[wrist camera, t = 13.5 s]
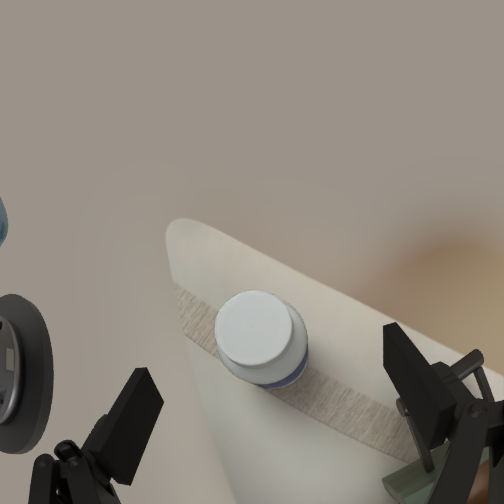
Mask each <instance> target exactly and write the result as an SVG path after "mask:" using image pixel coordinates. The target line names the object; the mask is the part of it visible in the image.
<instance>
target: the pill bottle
mask: <svg viewBox="0 0 504 504" xmlns="http://www.w3.org/2000/svg"><path fill="white" fill-rule="evenodd" d="M214 332H215V339H216V342H217V348H218V352H219V356H220V358H221V360H222V362H223V364H224V365H225V367H226V368H227V369H228V370H229V371H230V372H231V373H232V374H233V375H235V376H237V377H238V378H240V379H242V380H244V381H247V382H250V383H252V384H255V385H258V386H261V387H264V388H268V389H279V388H284V387H286V386H289V385H291V384H292V383H294V382H295V381H296V380H297V379H298V378H299V377H300V376H301V375H302V373H303V372H304V370H305V368H306V365H307V361H308V342H307V341H308V337H307V330H306V327H305V324H304V321H303V319H302V318H301V316H300V314H299V313H298V312H297V311H296V309H295V308H293V307H292V306H291V305H290V304H288V303H287V302H285V301H283V300H280V299H279V298H278V297H276V296H275V295H273V294H271V293H269V292H265V291H260V290H251V291H245V292H242V293H239V294H237V295H235V296H233V297H232V298H231V299H229V300H228V301H227V302H226V303H225V304H224V305H223V306H222V308H221V309H220V311H219V313H218V315H217V317H216V321H215V328H214Z"/></svg>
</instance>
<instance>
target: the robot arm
mask: <svg viewBox="0 0 504 504" xmlns="http://www.w3.org/2000/svg"><path fill="white" fill-rule="evenodd" d="M7 232H8V218H7V214H6V210H5V207H4V205H3V202H2V200H1V198H0V246H1V245H2V243H3V242H4V240H5V238H6V236H7ZM383 366H384V368H385V370H386V372H387V373H388V375H389V377H390V379H391V381H392V383H393V384H394V386H395V388H396V390H397V392H398V394H399V395H400V397H401V399H402V401H403V403H404V405H405V407H406V409H407V410H408V412H409V414H410V416H411V418H412V420H413V422H414V424H415V426H416V428H417V430H418V432H419V434H420V436H421V438H422V440H423V442H424V444H425V446H426V448H427V450H428V451H429V450H432V449H434V448H436V447H438V446H441V445H443V444H444V441H445V439H446V437H447V438H448V440H449V442H450V444H449V446H448V449H447V451H446V454H445V458H444V460H443V463H442V465H441V468H440V470H439V473H438V475H437V478H436V480H435V482H434V485H433V487H432V489H431V491H430V493H429V495H428V498H427V500H426V502H425V504H466V503H467V500H468V498H469V495H470V492H471V489H472V486H473V483H474V480H475V477H476V474H477V471H478V467H479V464H480V460H481V456H482V452H483V448H485V447H489V485H488V500H487V504H504V400H502V401H498V402H494V403H488V402H487V401H485V400H483V399H479V398H478V399H476V398H475V397H474V396H473V395H472V394H471V392H470V391H469V390H468V389H467V387H466V386H465V385H464V384H463V382H462V381H461V380H460V379H459V377H458V376H457V375H456V374H455V373H454V371H453V370H452V369H451V368H450V367H449V366H448V365H446V364H445V363H443V362H441V361H440V362H437V363H435V364H432V365H430V364H429V363H428V362H427V360H426V359H425V358H424V357H423V355H422V354H421V353H420V351H419V350H418V349H417V348H416V346H415V345H414V344H413V343H412V341H411V340H410V339H409V337H408V336H407V335H406V334H405V333H404V331H403V330H402V329H401V328H400V326H399V325H398V324H397V323H396V322H394V323H391V324H387V325H384V326H383ZM25 371H26V367H25V353H24V346H23V342H22V338H21V336H20V333H19V331H18V329H17V327H16V326H15V324H14V323H13V322H11V321H10V320H8V319H6V318H4V317H2V316H0V425H7V424H9V423H10V422H11V421H12V420H13V419H14V418H15V416H16V414H17V412H18V410H19V408H20V405H21V402H22V398H23V393H24V386H25ZM163 404H164V401H163V399H162V397H161V395H160V393H159V391H158V389H157V388H156V385H155V384H154V382H153V379H152V377H151V375H150V373H149V371H148V369H147V367H145V368H135V370H134V372H133V373H132V375H131V376H130V378H129V380H128V382H127V383H126V385H125V386H124V388H123V390H122V391H121V393H120V395H119V396H118V398H117V400H116V401H115V403H114V405H113V406H112V408H111V410H110V411H109V413H108V415H107V414H104V415H103V416H102V417H101V418H100V419H99V420H98V421H97V423H96V424H95V426H94V428H93V429H92V431H91V434H89V436H88V438H87V439H86V441H85V443H84V444H83V446H82V448H81V449H79V447H78V446H77V445H76V444H75V443H74V442H73V441H72V440H64V441H62V442H60V443H59V444H58V445H57V446H56V447H55V449H54V454H55V455H56V456H57V457H58V458H59V459H60V460H54V458H53V457H52V456H51V455H49V454H42V455H40V456H38V457H37V458H36V460H35V462H34V466H33V472H32V478H31V485H30V493H29V501H28V502H29V503H28V504H121V503H120V500H119V498H118V496H117V494H116V492H115V490H114V487H113V485H112V484H111V483H110V480H111V477H112V478H113V479H114V480H115V481H116V482H117V483H118V484H124V485H129V486H131V484H132V481H133V478H134V476H135V473H136V471H137V468H138V466H139V463H140V461H141V458H142V455H143V453H144V450H145V448H146V445H147V443H148V440H149V438H150V435H151V433H152V430H153V428H154V426H155V423H156V421H157V418H158V416H159V413H160V411H161V408H162V406H163ZM57 490H58V494H57V493H56V491H57Z"/></svg>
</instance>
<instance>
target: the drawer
mask: <svg viewBox="0 0 504 504" xmlns="http://www.w3.org/2000/svg"><path fill="white" fill-rule="evenodd" d="M483 363H484V357H483V354H482V353H481V351H479V350H478V349H475V350H473V351H472V352H470V353H469V354H468V355H466V356H465V357H463V358H462V359H461V360H459V361H458V362H456V363H455V364H453V365H452V366H450V368H451V369H452V370H453V371H454V373H455V374H456V375H457V376H458V377H459V379H460V380H461V381H462V380H463V379H465V378H466V377H467V376H469V375H470V374H471V373H474V375H475V378H476V381H477V383H478V386H479V389H480V391H481V394H482V397H483V400H485V401H487V402H488V403H494V402H495V401H494V398H493V395H492V392H491V389H490V386H489V384H488V381H487V378H486V376H485V373H484V370H483V368H482V367H480V366H482V365H483ZM396 405H397V408H398V411H399V413H400V414H401V415H402V416H403V417H405V416H406V419H407V422H408V424H409V427H410V430H411V432H412V435H413V438H414V441H415V444H416V446H417V449H418V452H419V455H420V459H419V460H417V461H415V462H413V463H412V464H410V465H408V466H406V467H404V468H402V469H401V470H399V471H397V472H395V473H393V474H391V475H389V476H387V477H385V478H383V479H382V480H383V483H384V486H385V489H386V490H387V491H388V492H389V493H390V494H391V495H392V496H393V497H394V498H395V499H396V500H397V502H398V503H399V504H425V502H426V500H427V498H428V495H429V493H430V491H431V489H432V487H433V485H434V482H435V480H436V478H437V475H438V473H439V470H440V468H441V465H442V463H443V460H444V458H445V454H446V451H447V449H448V446H449V444H450V442H449V441H447V442H446V443H444V444H443V445H441V446H440V447H438V448H437V449H435V450H434V451H432V452H430V451H428V450H427V448H426V446H425V444H424V442H423V440H422V438H421V436H420V434H419V432H418V430H417V428H416V426H415V424H414V422H413V420H412V418H411V416H410V414H409V412H408V410H407V409H406V407H405V405H404V403H403V401H402V399H401V397H400V398H398V399H396ZM488 485H489V447H485V448H483V452H482V456H481V460H480V464H479V467H478V471H477V474H476V477H475V480H474V483H473V486H472V489H471V492H470V495H469V498H468V500H467V503H466V504H487V500H488Z"/></svg>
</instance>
